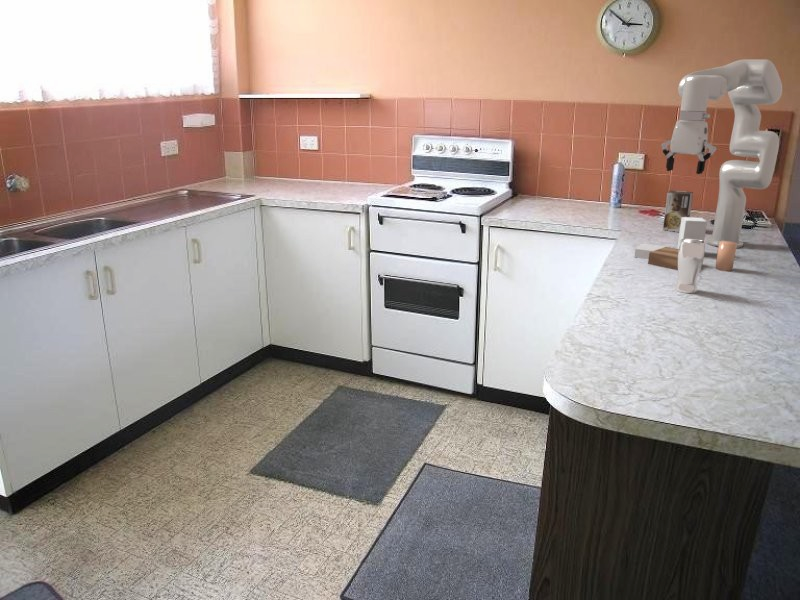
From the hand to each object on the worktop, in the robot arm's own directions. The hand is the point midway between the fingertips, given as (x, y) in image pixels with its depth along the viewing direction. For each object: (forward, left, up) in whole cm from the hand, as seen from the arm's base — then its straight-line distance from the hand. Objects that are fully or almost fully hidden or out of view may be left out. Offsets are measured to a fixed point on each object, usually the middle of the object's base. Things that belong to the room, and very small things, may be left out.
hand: (684, 172), depth 214 cm
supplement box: (-21, -3, -31) cm, 38 cm away
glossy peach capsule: (-9, +14, -31) cm, 35 cm away
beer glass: (+24, +16, -31) cm, 43 cm away
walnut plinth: (-2, 0, -31) cm, 31 cm away
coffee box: (-55, -24, -31) cm, 68 cm away
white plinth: (-7, -10, -31) cm, 33 cm away
